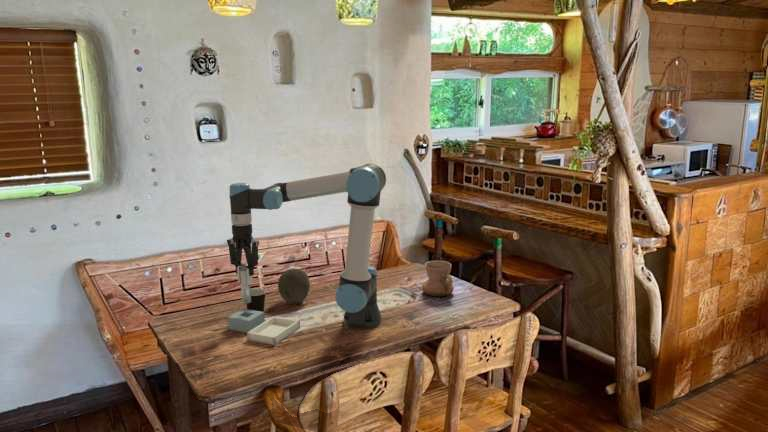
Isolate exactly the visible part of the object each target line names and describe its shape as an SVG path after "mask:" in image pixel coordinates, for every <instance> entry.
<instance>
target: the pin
mask: <svg viewBox="0 0 768 432" xmlns="http://www.w3.org/2000/svg"><path fill="white" fill-rule="evenodd" d="M247 267H248V265H247V262H246V263H244V262H243V263H242V264H240V279H241V283H240V290H241V291H240V292H241V303H242V304H246V303H250V302H251V289H252V288H251V284H249V285H248V284H247V272H246V268H247Z"/></svg>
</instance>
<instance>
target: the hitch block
mask: <svg viewBox="0 0 768 432" xmlns="http://www.w3.org/2000/svg"><path fill="white" fill-rule="evenodd" d="M265 319H266V318H265V311H264V312H261V311H255V310H249V309H247V308H242V309H239V310H238V311H237V312H235V313H233V314H231V315H228V317H227V322H228V323H227V325H228V328H227V329H228V330H231V331H236V332H240V333H241V332H242V333H247V332H249V331H250V330H252V329H254V328H255V327H257V326H259V325H260V324H262V323H263V322H265V321H266V320H265Z"/></svg>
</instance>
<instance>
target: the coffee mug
mask: <svg viewBox="0 0 768 432" xmlns="http://www.w3.org/2000/svg"><path fill="white" fill-rule="evenodd" d="M266 293H267V292H266V290H264V289H263V288H262V289H261V288H251V302H250V303H245V306H246V309H249V310H255V311H261V312H264V313H265V306H266V305H265V303H266Z"/></svg>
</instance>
